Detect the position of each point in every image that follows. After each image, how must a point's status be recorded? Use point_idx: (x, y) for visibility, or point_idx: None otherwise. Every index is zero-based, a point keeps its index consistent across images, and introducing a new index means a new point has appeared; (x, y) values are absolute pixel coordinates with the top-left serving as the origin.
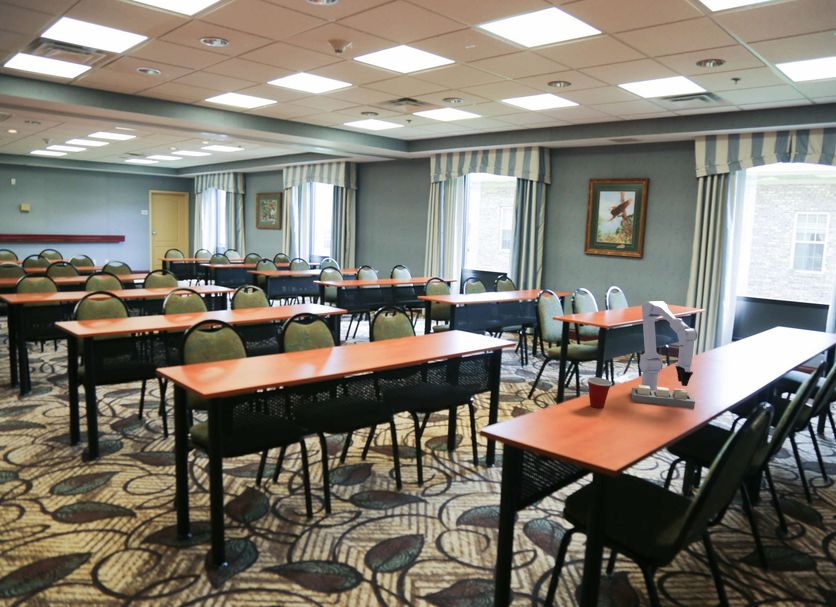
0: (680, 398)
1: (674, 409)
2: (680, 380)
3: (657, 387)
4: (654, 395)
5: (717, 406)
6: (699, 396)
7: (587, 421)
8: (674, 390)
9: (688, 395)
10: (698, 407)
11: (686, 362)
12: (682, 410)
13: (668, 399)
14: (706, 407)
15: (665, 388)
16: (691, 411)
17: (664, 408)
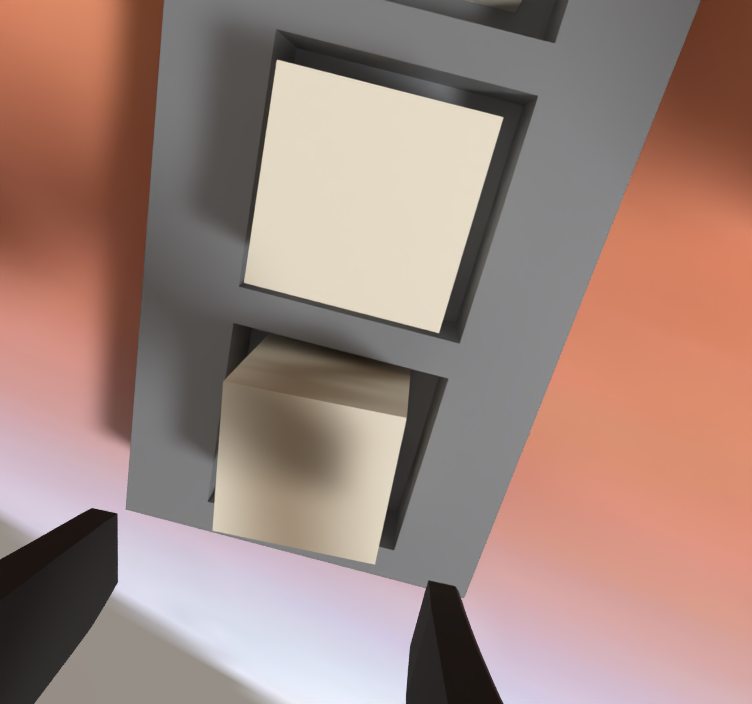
0: (217, 394)
1: (33, 220)
2: (421, 626)
3: (440, 116)
4: (281, 18)
5: (285, 681)
6: (614, 688)
7: None
8: (338, 397)
9: (387, 550)
10: None
11: None
12: (29, 303)
13: (154, 210)
14: (225, 583)
15: (383, 265)
16: (29, 386)
17: (27, 96)
